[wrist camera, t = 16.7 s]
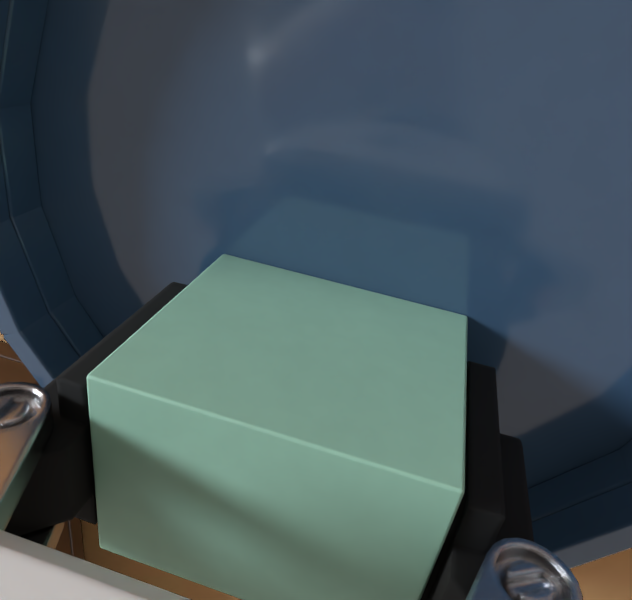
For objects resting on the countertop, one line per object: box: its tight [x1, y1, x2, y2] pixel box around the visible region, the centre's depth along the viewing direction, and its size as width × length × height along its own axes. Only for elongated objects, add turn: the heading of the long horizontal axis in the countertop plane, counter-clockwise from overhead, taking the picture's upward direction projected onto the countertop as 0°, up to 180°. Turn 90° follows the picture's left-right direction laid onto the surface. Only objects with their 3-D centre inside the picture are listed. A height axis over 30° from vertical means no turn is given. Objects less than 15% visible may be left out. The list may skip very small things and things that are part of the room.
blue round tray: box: [0, 0, 632, 569], centre depth 10 cm, size 16×16×2 cm
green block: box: [86, 254, 468, 600], centre depth 10 cm, size 4×6×5 cm
